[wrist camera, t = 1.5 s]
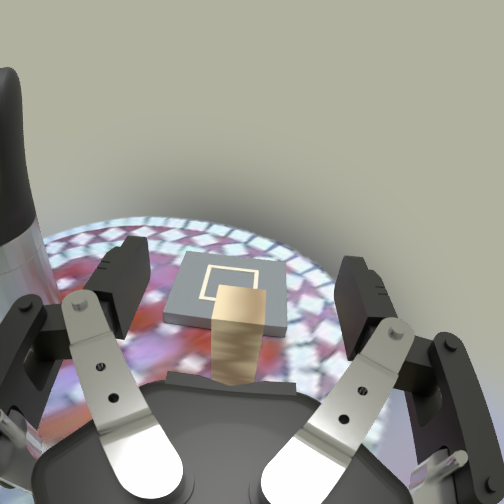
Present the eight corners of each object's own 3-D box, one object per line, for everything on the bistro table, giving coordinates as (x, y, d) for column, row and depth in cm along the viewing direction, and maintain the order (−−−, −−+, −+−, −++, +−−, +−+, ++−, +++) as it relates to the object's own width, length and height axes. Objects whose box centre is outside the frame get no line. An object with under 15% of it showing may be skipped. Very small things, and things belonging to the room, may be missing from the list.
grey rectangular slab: (164, 322, 41) (162, 310, 40) (186, 260, 53) (186, 249, 51) (284, 337, 41) (287, 326, 40) (283, 272, 53) (285, 261, 51)
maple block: (211, 390, 33) (211, 318, 27) (216, 359, 37) (218, 284, 30) (251, 395, 33) (264, 324, 27) (253, 363, 37) (266, 289, 30)
